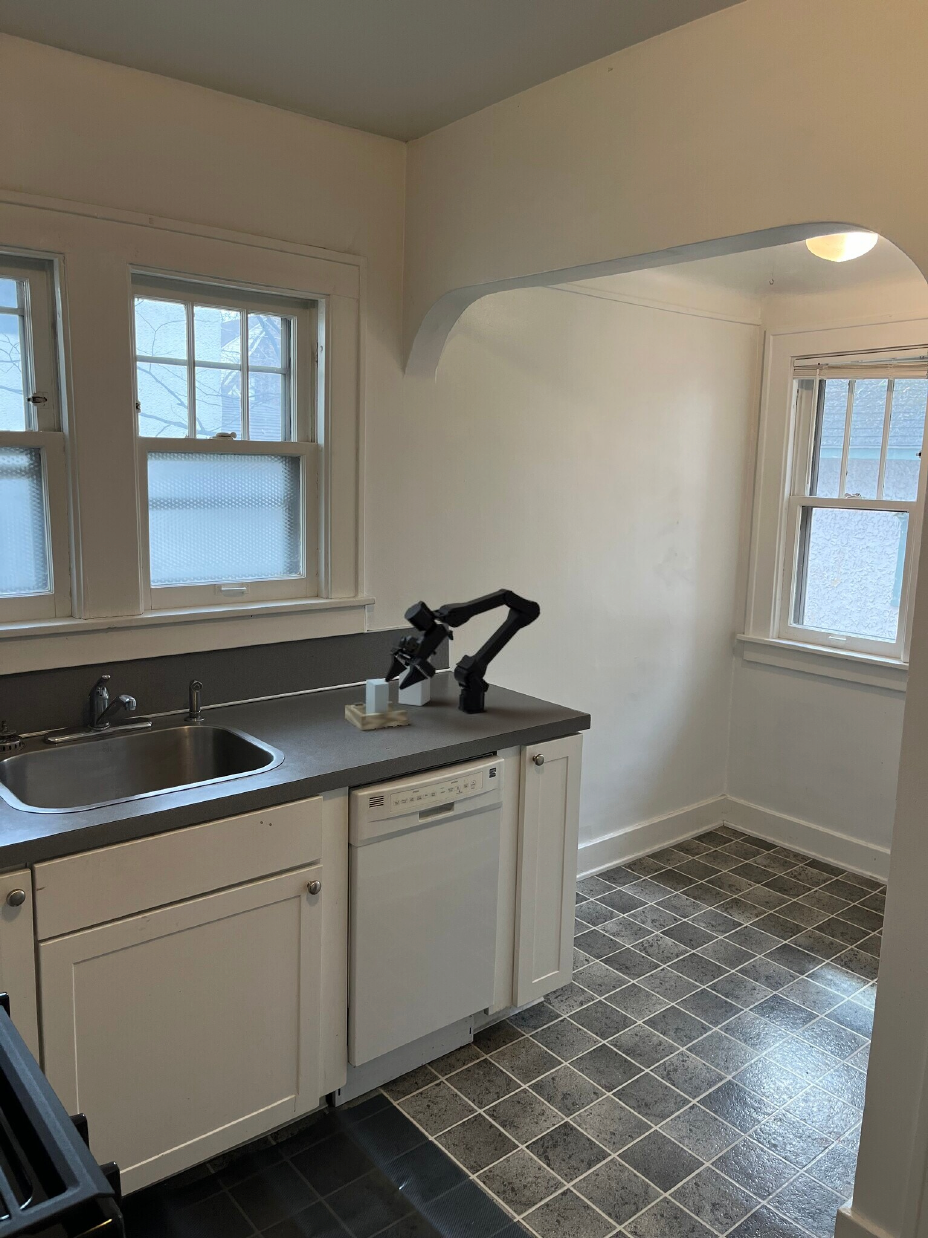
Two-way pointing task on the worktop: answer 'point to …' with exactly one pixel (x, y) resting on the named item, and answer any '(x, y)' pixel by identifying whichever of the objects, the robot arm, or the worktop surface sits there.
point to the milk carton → (414, 690)
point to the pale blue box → (376, 696)
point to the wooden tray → (374, 717)
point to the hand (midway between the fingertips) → (392, 685)
